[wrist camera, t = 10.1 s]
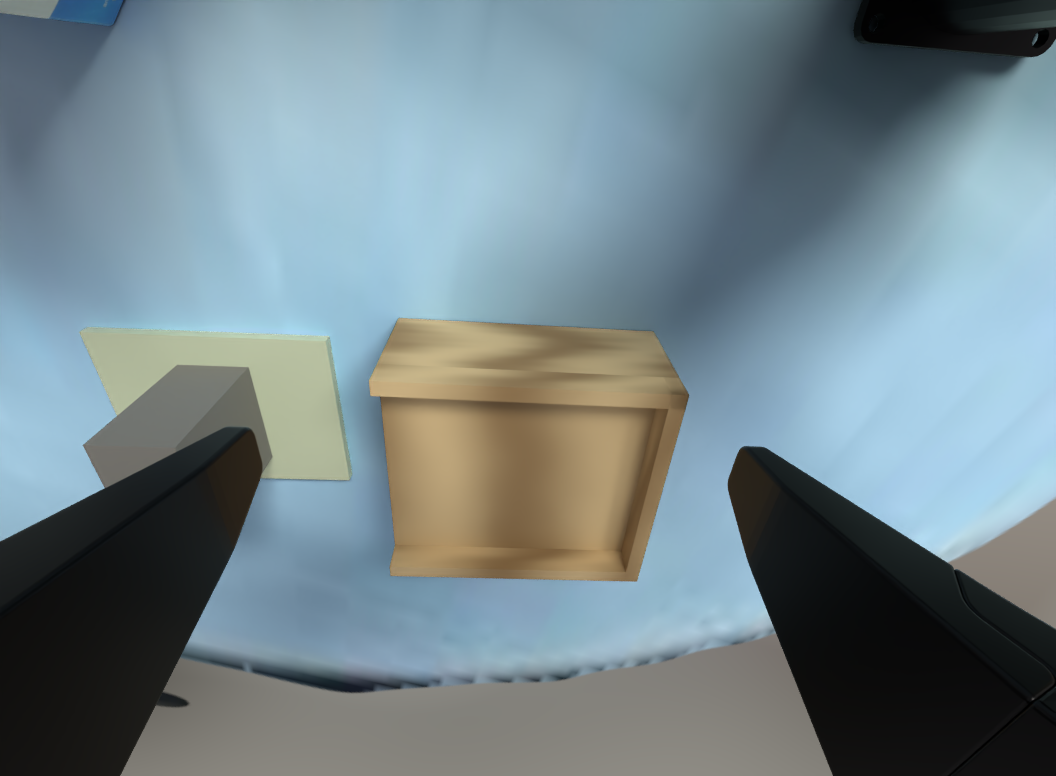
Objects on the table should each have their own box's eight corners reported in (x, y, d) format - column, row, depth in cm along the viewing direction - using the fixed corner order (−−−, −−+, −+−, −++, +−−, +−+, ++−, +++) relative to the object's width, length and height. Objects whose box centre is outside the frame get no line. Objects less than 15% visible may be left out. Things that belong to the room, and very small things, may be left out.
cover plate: (331, 333, 22) (271, 417, 17) (353, 469, 26) (311, 573, 21) (93, 324, 21) (-50, 407, 16) (153, 464, 26) (56, 569, 20)
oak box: (653, 331, 22) (689, 395, 18) (616, 499, 27) (636, 581, 23) (398, 317, 21) (369, 380, 17) (410, 492, 27) (390, 575, 22)
